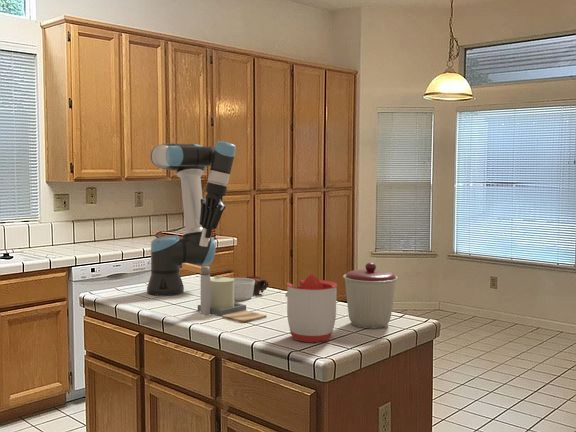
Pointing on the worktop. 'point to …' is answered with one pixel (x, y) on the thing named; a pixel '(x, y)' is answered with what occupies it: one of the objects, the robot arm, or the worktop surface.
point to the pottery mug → (258, 284)
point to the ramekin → (243, 288)
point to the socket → (205, 301)
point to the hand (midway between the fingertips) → (203, 245)
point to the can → (221, 293)
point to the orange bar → (196, 268)
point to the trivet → (244, 316)
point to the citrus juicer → (311, 309)
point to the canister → (370, 296)
